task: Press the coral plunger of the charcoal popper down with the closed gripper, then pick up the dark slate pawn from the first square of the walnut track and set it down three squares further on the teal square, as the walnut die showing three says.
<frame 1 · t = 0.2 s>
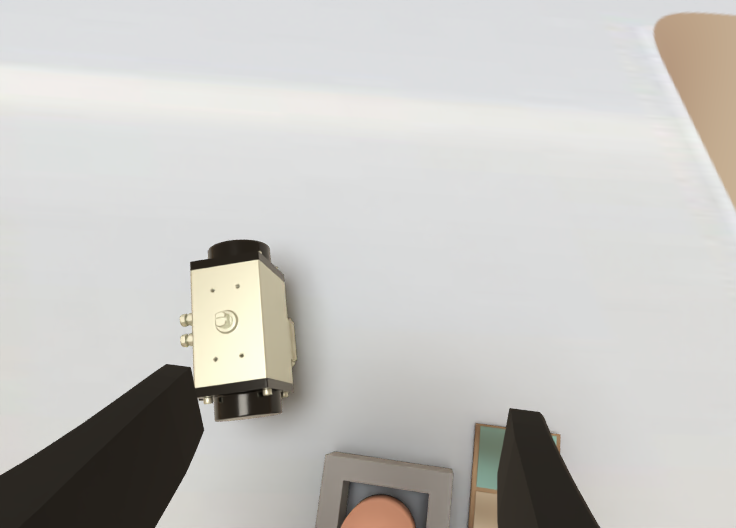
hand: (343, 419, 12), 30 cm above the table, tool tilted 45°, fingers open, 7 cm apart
pneumatic valve: (272, 345, 44), on the table
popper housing: (385, 524, 39), on the table
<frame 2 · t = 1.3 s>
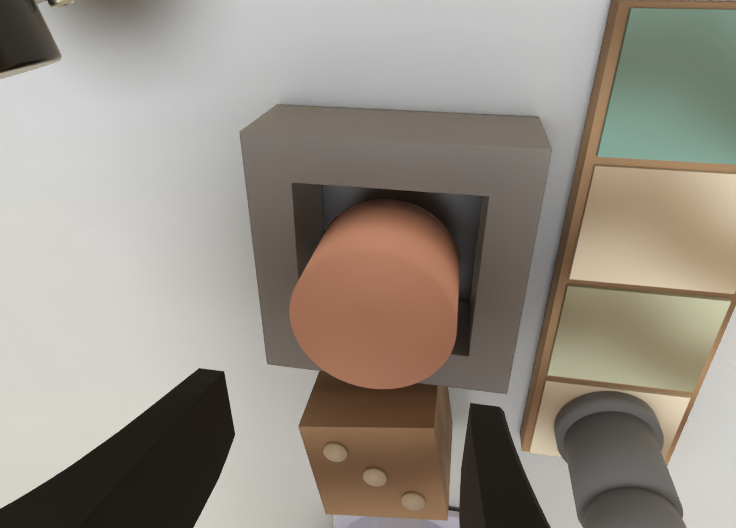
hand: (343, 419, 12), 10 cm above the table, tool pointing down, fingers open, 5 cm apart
die: (392, 384, 24), on the table
track board: (639, 272, 19), on the table
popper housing: (398, 228, 20), on the table
pawn: (604, 427, 22), point 1 cm above the table, touching track board
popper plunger: (380, 291, 16), point 5 cm above the table, slide at 0.0 cm
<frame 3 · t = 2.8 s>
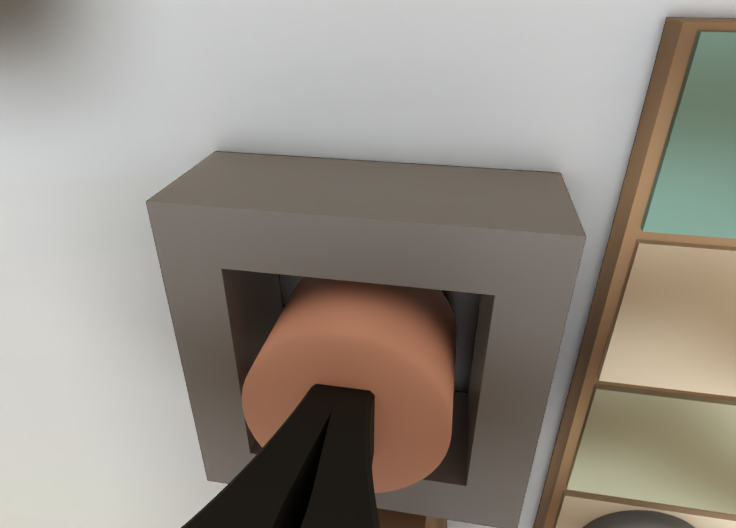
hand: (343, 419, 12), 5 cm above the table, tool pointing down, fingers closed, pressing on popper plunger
die: (374, 482, 20), on the table
track board: (688, 367, 15), on the table
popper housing: (376, 306, 16), on the table
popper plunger: (358, 370, 13), point 3 cm above the table, slide at 1.6 cm, touching gripper
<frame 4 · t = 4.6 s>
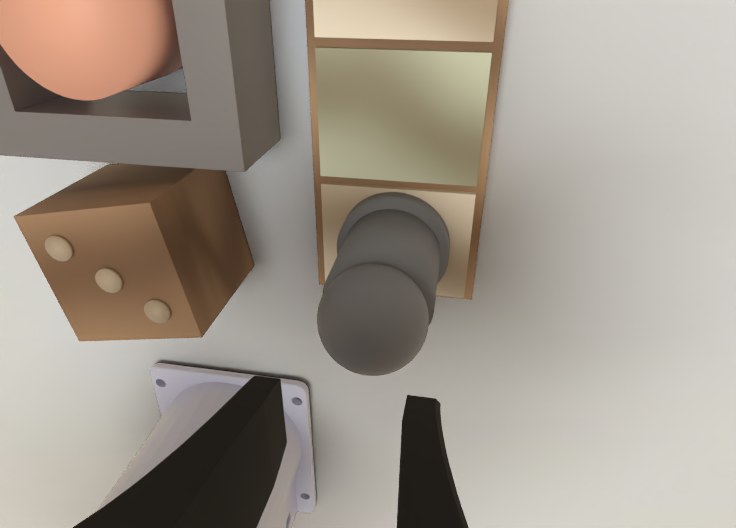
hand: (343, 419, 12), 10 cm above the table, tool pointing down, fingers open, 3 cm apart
die: (182, 216, 22), on the table
track board: (405, 39, 17), on the table
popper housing: (141, 0, 18), on the table
pawn: (394, 243, 19), point 1 cm above the table, touching track board
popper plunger: (99, 5, 16), point 2 cm above the table, slide at 2.2 cm
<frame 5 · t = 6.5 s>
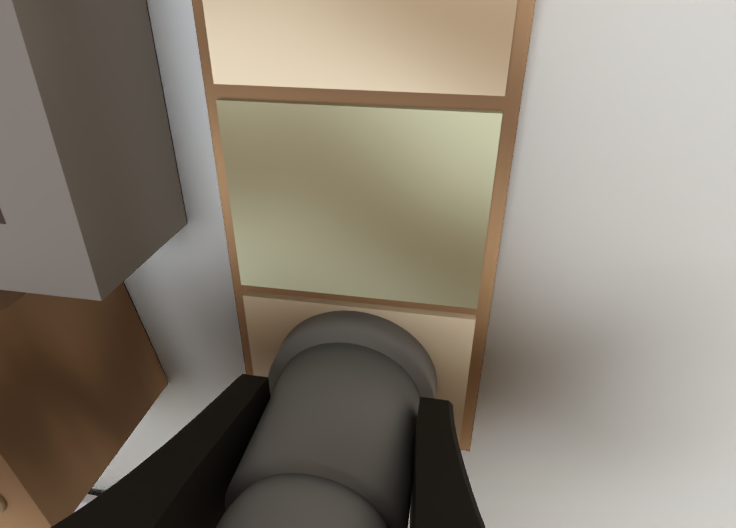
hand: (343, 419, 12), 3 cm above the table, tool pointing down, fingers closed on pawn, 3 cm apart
die: (64, 318, 16), on the table
track board: (365, 85, 11), on the table
pawn: (355, 377, 13), point 1 cm above the table, touching gripper, track board
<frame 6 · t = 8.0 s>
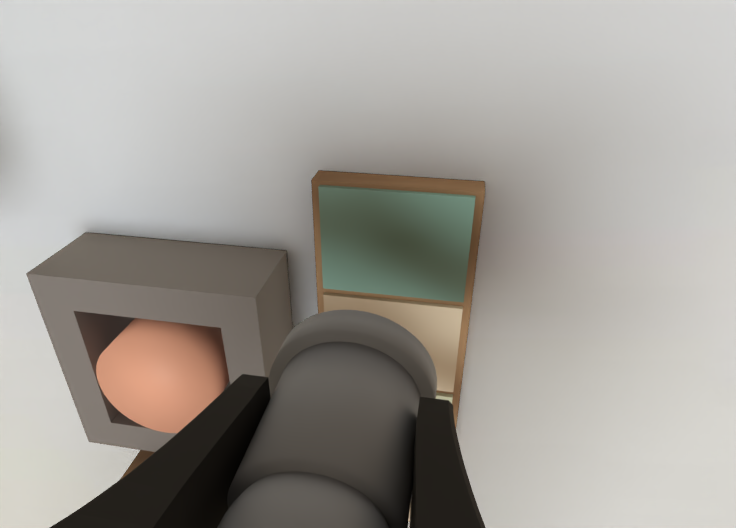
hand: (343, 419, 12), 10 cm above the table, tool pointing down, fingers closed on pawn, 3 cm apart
track board: (392, 368, 23), on the table
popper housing: (199, 328, 24), on the table
pawn: (356, 375, 13), point 8 cm above the table, touching gripper
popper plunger: (175, 360, 22), point 2 cm above the table, slide at 2.2 cm
when the fingers open (3 cm above the table, at t = 9.5 s): pawn stays where it is, resting on track board.
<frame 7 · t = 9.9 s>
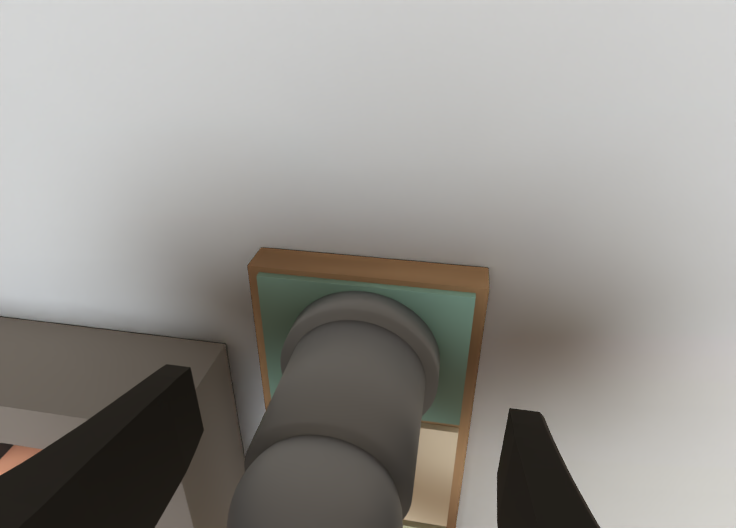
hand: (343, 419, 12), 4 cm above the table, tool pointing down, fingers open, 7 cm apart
track board: (369, 484, 18), on the table
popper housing: (124, 428, 19), on the table
pawn: (363, 355, 14), point 1 cm above the table, touching track board
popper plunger: (83, 482, 17), point 2 cm above the table, slide at 2.2 cm
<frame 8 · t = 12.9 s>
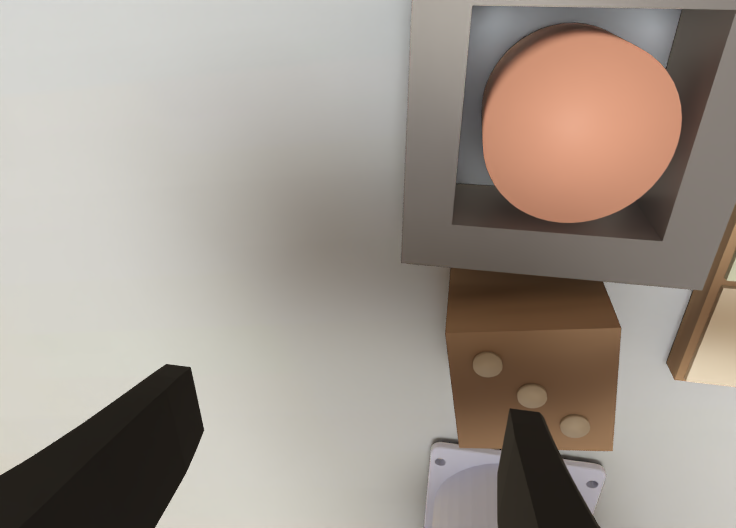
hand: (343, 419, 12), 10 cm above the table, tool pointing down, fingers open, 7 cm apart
die: (520, 306, 21), on the table
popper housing: (557, 102, 17), on the table
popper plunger: (567, 120, 15), point 2 cm above the table, slide at 2.2 cm
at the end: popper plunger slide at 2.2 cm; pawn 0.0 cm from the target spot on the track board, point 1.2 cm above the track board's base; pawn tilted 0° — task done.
